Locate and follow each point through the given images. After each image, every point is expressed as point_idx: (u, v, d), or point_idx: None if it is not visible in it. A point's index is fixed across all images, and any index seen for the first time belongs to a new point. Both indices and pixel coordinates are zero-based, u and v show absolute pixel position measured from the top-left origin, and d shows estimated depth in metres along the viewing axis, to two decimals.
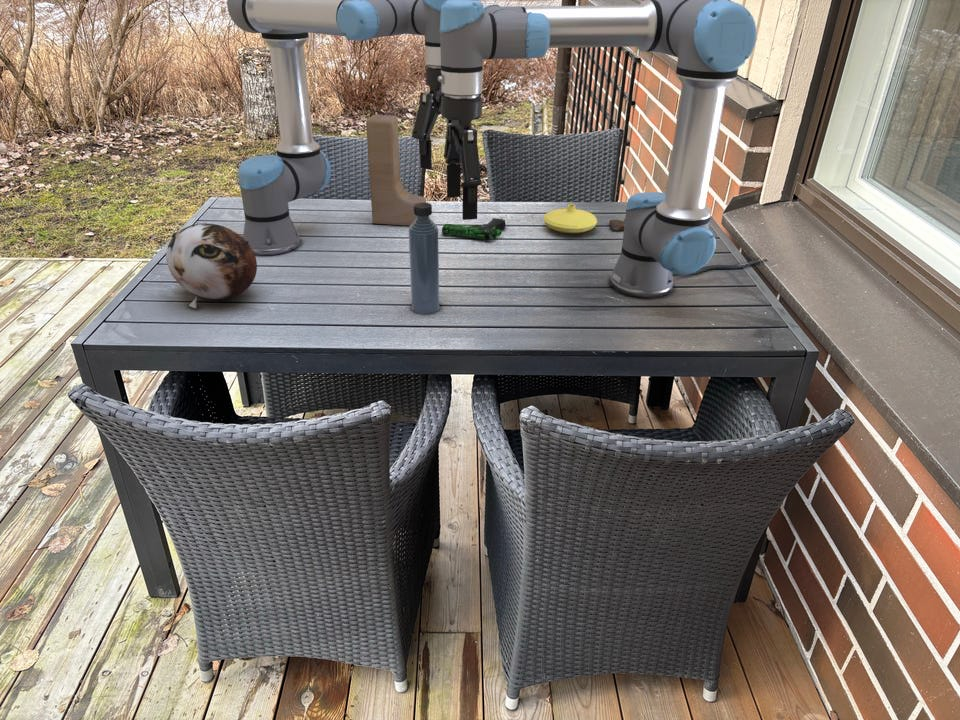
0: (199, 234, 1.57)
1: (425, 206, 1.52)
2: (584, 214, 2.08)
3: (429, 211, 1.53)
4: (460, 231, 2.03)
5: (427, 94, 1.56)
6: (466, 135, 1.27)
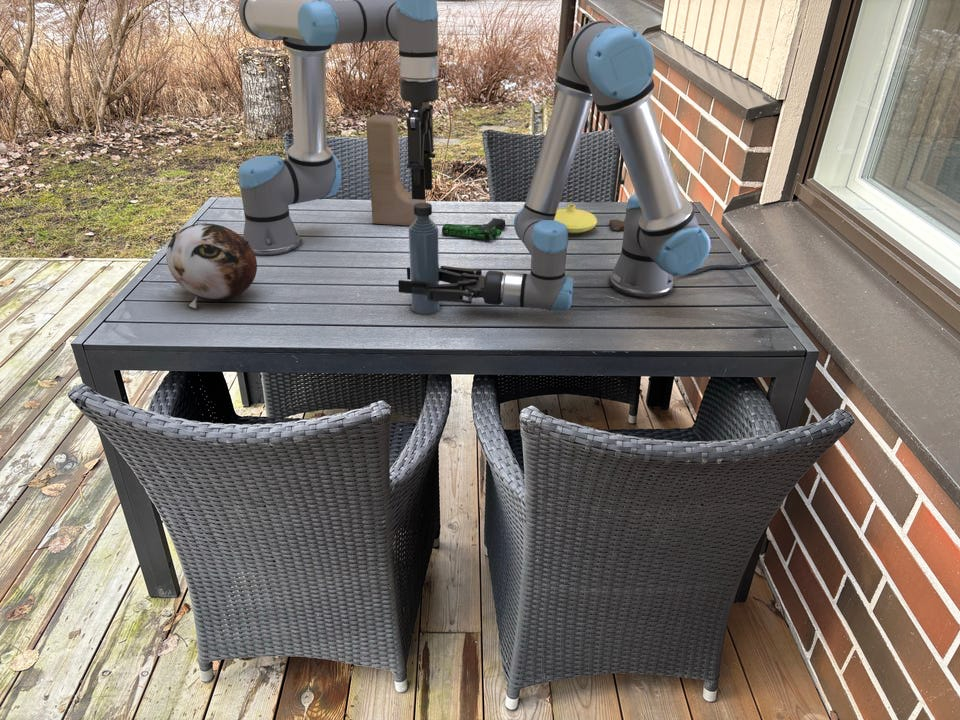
0: (199, 234, 1.57)
1: (425, 206, 1.52)
2: (584, 214, 2.08)
3: (429, 211, 1.53)
4: (460, 231, 2.03)
5: None
6: None
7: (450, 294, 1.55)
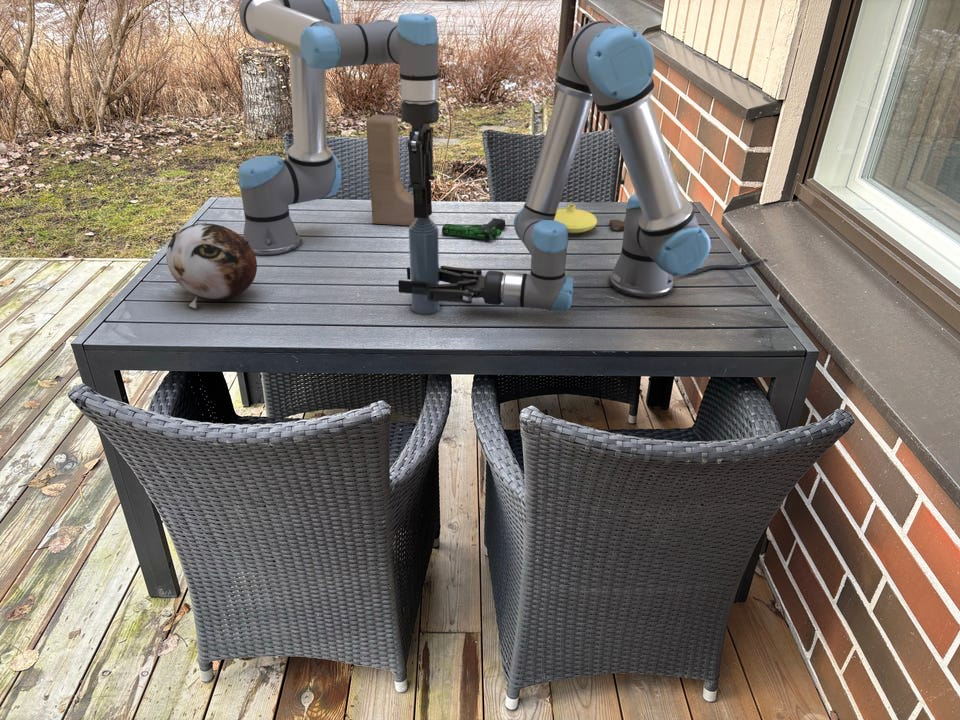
0: (199, 234, 1.57)
1: None
2: (584, 214, 2.08)
3: (429, 211, 1.53)
4: (460, 231, 2.03)
5: None
6: None
7: (450, 294, 1.55)
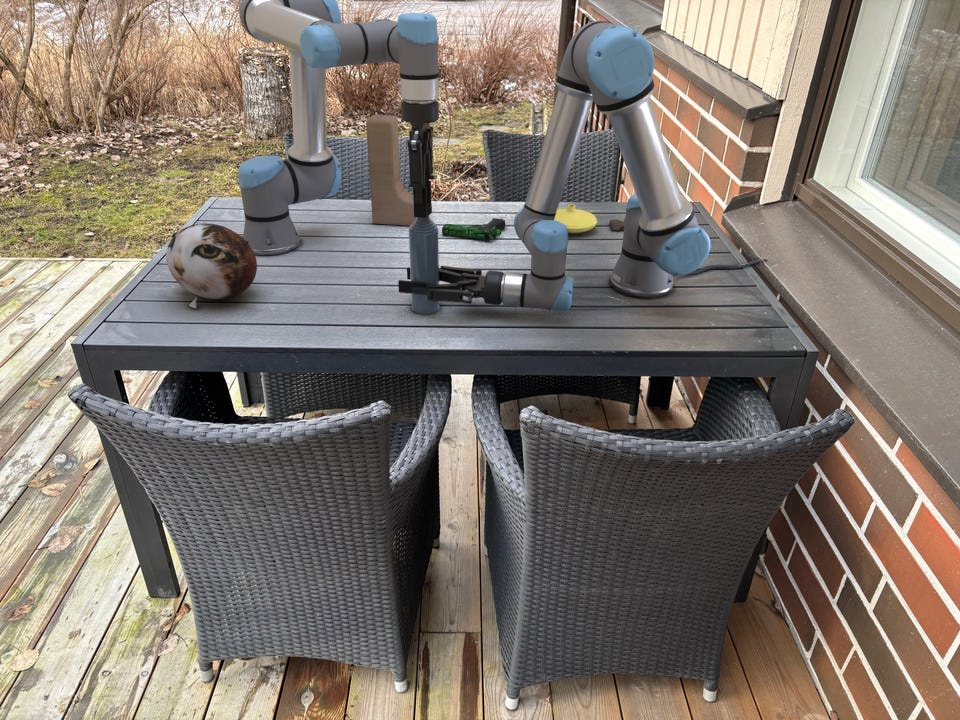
0: (199, 234, 1.57)
1: None
2: (584, 214, 2.08)
3: None
4: (460, 231, 2.03)
5: None
6: None
7: (450, 294, 1.55)
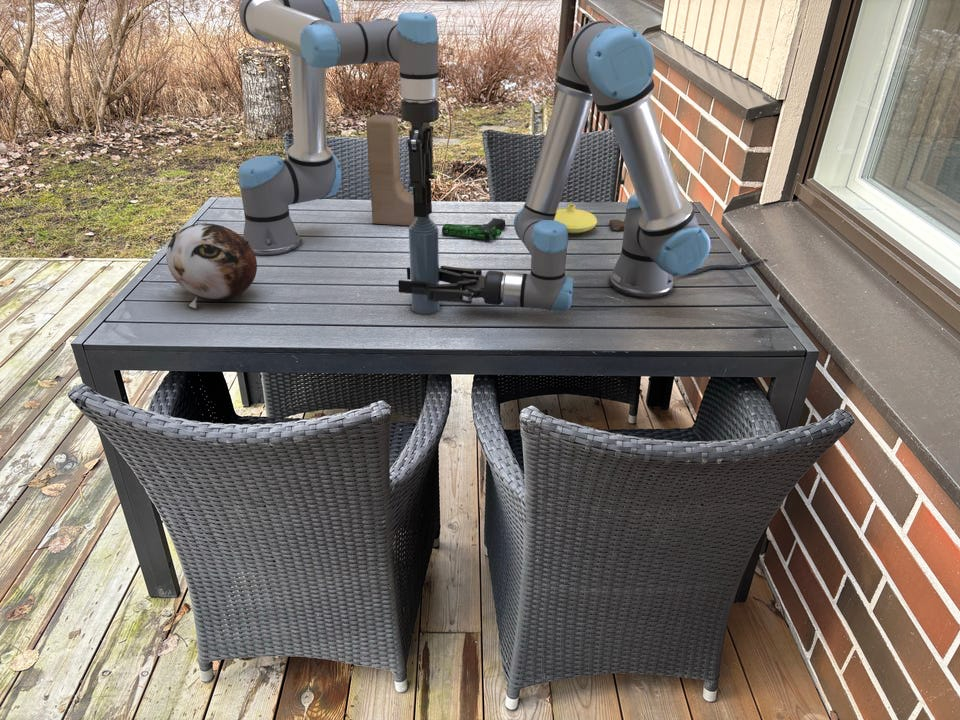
0: (199, 234, 1.57)
1: None
2: (584, 214, 2.08)
3: None
4: (460, 231, 2.03)
5: None
6: None
7: (450, 294, 1.55)
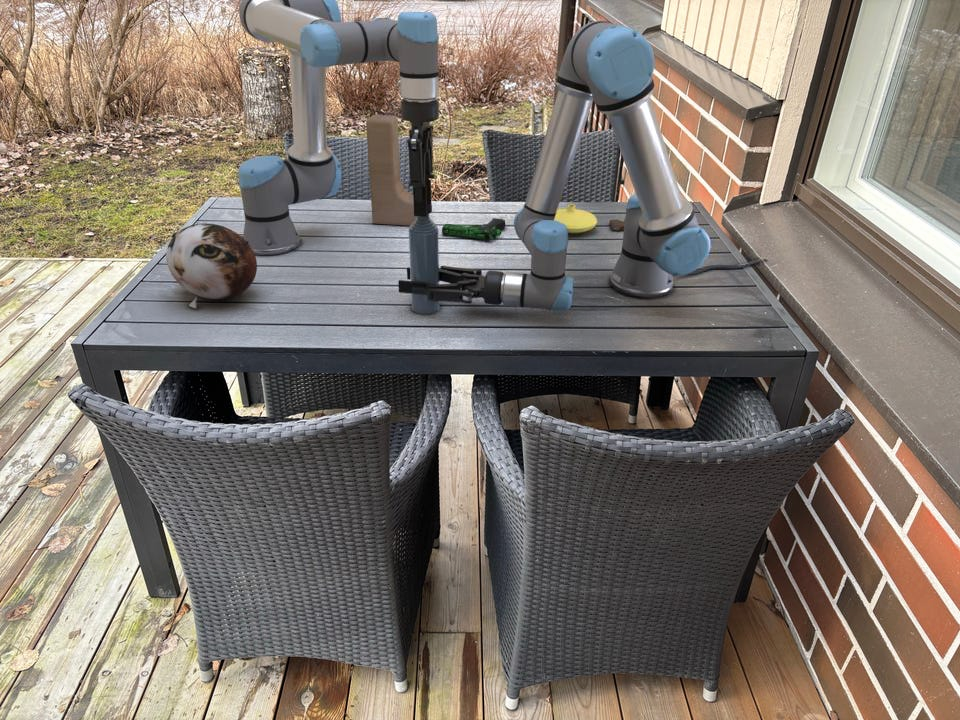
0: (199, 234, 1.57)
1: None
2: (584, 214, 2.08)
3: None
4: (460, 231, 2.03)
5: None
6: None
7: (450, 294, 1.55)
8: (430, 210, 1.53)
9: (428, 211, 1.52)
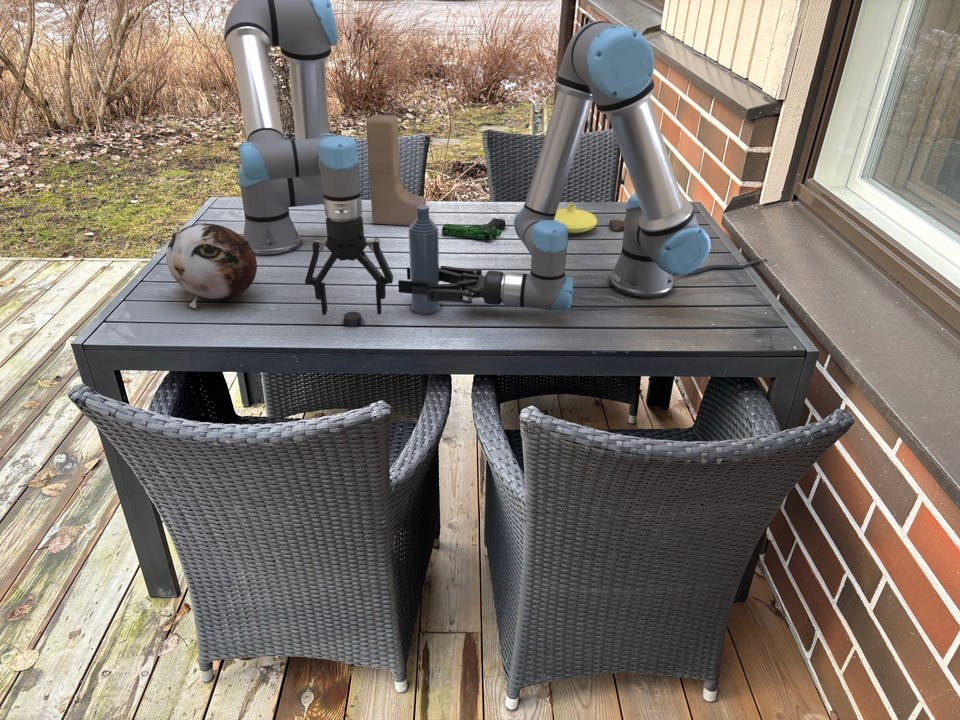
0: (199, 234, 1.57)
1: (356, 315, 1.58)
2: (584, 214, 2.08)
3: (361, 318, 1.58)
4: (460, 231, 2.03)
5: (313, 242, 1.48)
6: None
7: (450, 294, 1.55)
8: None
9: None
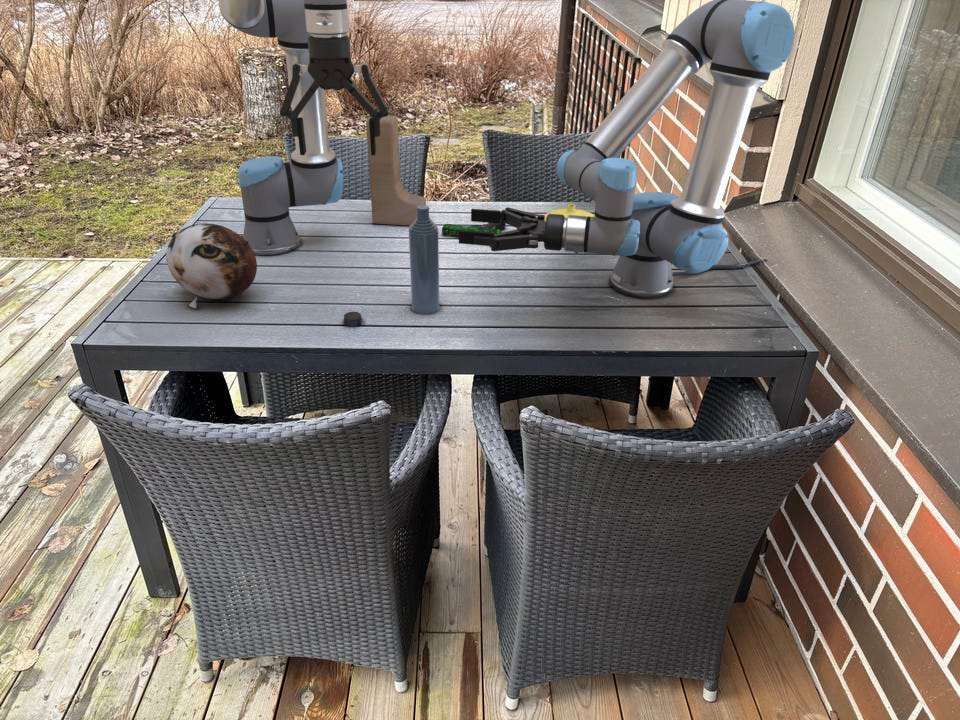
0: (199, 234, 1.57)
1: (356, 315, 1.58)
2: (584, 214, 2.08)
3: (361, 318, 1.58)
4: None
5: (294, 64, 1.30)
6: None
7: (516, 241, 1.45)
8: None
9: None
